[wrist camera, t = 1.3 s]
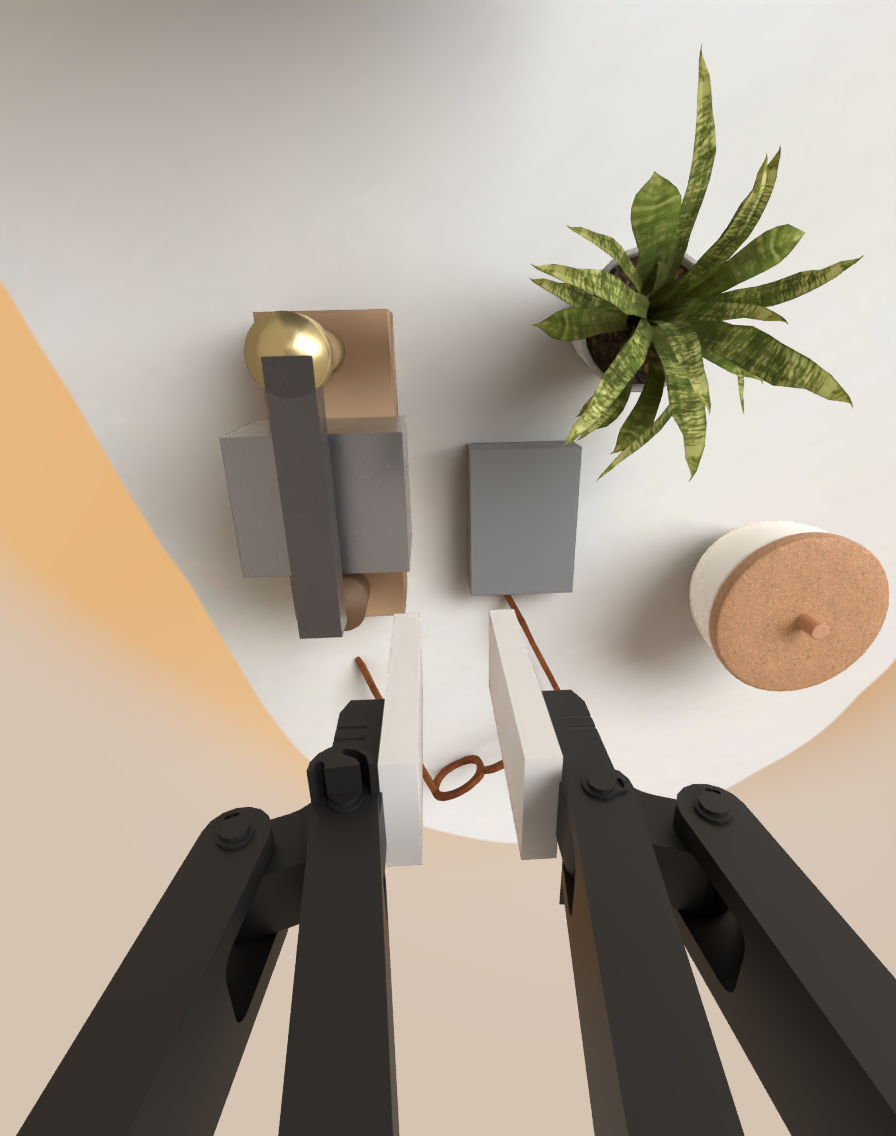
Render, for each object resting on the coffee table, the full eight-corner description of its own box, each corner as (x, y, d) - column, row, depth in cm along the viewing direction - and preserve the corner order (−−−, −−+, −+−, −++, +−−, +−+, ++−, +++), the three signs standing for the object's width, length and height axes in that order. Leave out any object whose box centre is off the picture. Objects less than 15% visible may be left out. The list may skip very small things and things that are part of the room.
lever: (251, 313, 23) (238, 311, 21) (330, 311, 23) (323, 309, 21) (294, 622, 28) (287, 639, 27) (359, 619, 28) (355, 636, 27)
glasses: (435, 771, 48) (436, 816, 44) (354, 655, 44) (346, 693, 39) (575, 707, 46) (592, 748, 42) (506, 580, 42) (517, 609, 37)
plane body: (276, 316, 34) (204, 304, 23) (392, 313, 34) (376, 300, 23) (310, 587, 41) (268, 680, 30) (407, 583, 41) (400, 674, 30)
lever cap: (255, 420, 31) (219, 437, 26) (405, 416, 32) (402, 432, 26) (273, 538, 34) (243, 577, 29) (411, 533, 34) (409, 571, 29)
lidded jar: (665, 644, 44) (725, 719, 35) (665, 513, 40) (733, 562, 31) (803, 624, 44) (897, 694, 35) (817, 490, 40) (928, 533, 31)
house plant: (446, 235, 33) (466, 145, 18) (676, 124, 31) (913, -78, 16) (529, 459, 38) (599, 538, 23) (730, 374, 36) (948, 398, 21)
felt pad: (467, 443, 37) (470, 450, 35) (572, 440, 38) (581, 447, 35) (468, 581, 41) (471, 595, 39) (563, 578, 41) (572, 592, 39)
